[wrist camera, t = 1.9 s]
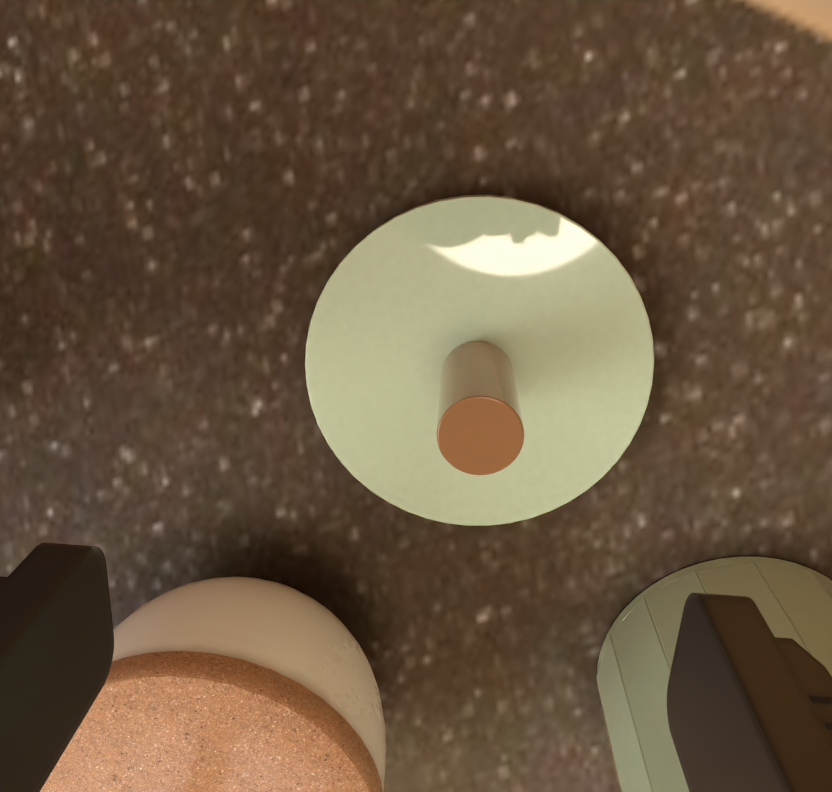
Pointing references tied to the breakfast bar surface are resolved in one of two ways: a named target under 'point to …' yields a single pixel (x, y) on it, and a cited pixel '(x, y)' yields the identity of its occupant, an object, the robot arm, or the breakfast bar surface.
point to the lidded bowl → (230, 699)
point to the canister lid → (479, 360)
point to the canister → (655, 645)
